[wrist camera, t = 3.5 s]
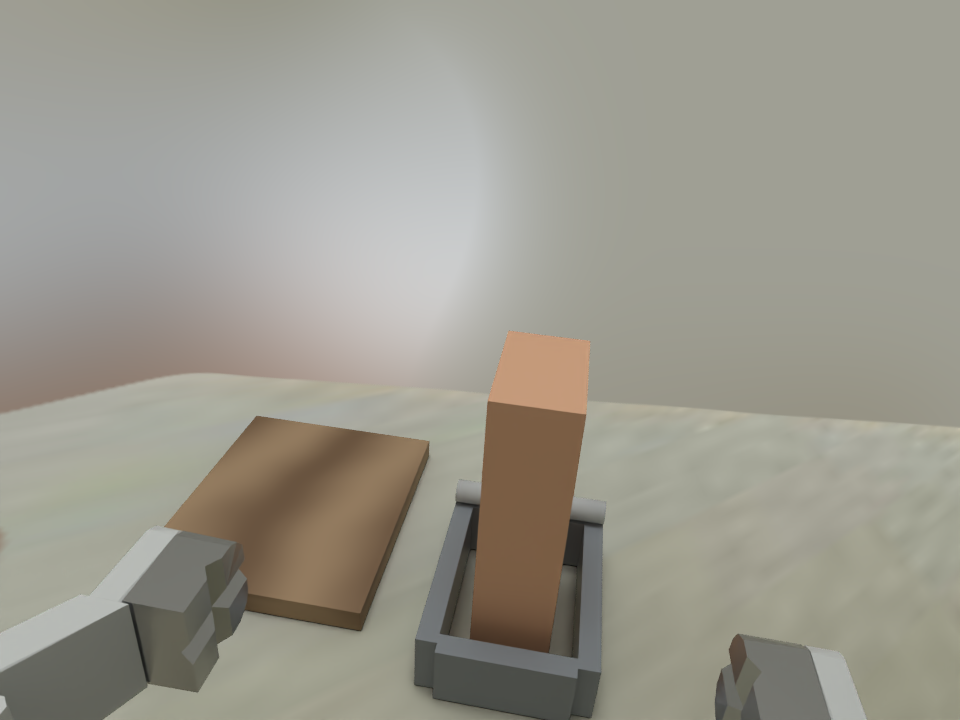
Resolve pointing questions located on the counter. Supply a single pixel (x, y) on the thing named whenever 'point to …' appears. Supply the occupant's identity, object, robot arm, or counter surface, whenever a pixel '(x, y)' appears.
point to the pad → (309, 514)
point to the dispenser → (503, 669)
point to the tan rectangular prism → (528, 487)
